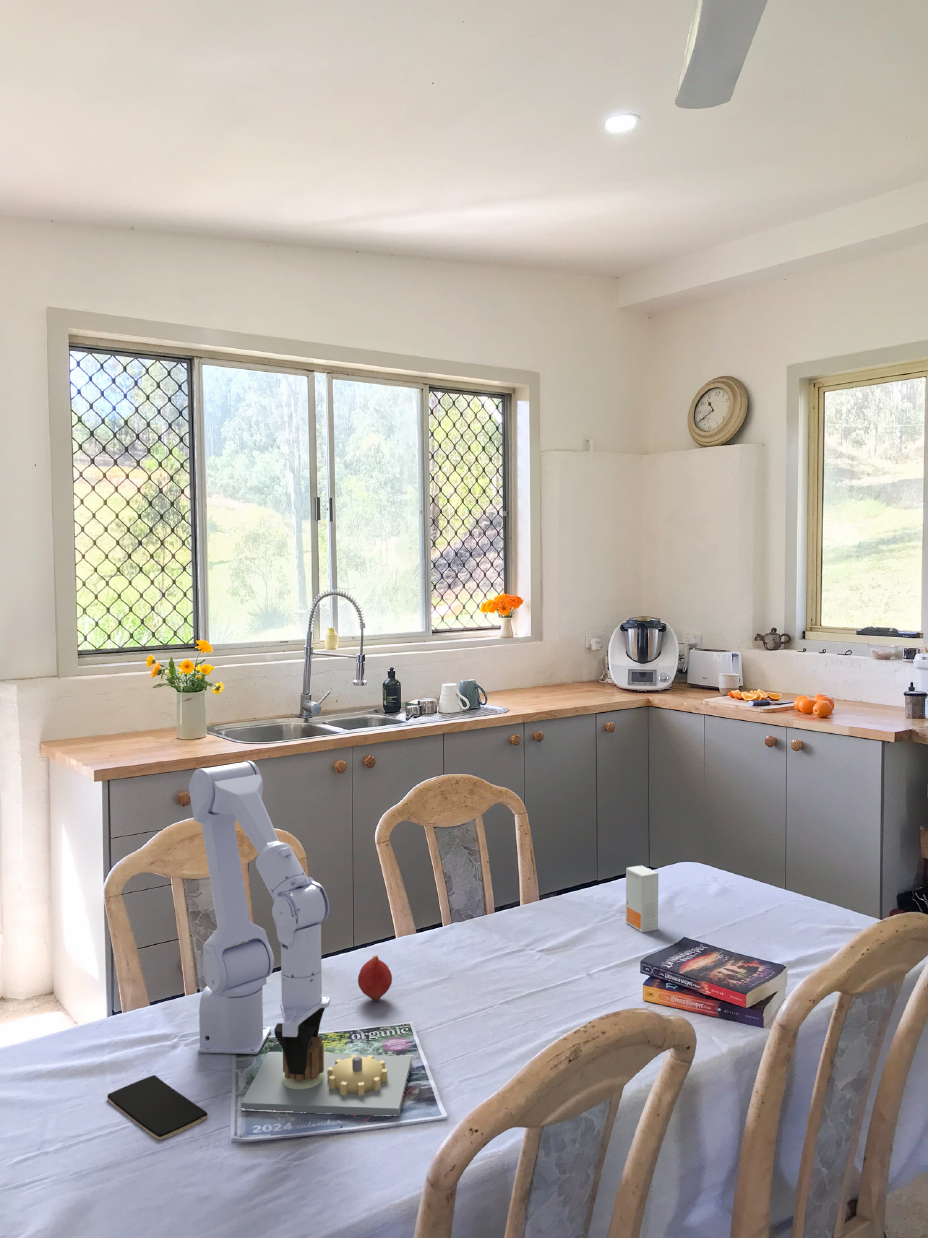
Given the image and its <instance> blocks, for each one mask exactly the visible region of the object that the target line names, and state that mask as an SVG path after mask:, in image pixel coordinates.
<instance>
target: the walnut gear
mask: <svg viewBox="0 0 928 1238" xmlns="http://www.w3.org/2000/svg"><path fill="white" fill-rule="evenodd" d="M322 1039H323V1038H321V1037H320V1036H318V1037H313V1036H312V1038H311V1041H310V1045H309V1051H308V1059H307V1066H306V1070H305V1073H304V1074H303V1075H299V1074H290V1073H289V1070H288V1066H287V1062H286V1058H285V1054H284V1051H283V1050H282V1052H283V1072H285V1078H287V1079H290V1078H291V1079H293V1080H295V1079H296V1082H302V1080H304V1079H305V1080H308V1079H311V1080H313V1079H316V1078H317V1075H319V1073H323V1071H324V1054H325V1052H324V1043H323V1041H322Z"/></svg>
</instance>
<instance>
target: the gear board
mask: <svg viewBox="0 0 928 1238" xmlns="http://www.w3.org/2000/svg"><path fill="white" fill-rule="evenodd" d="M412 1063H413V1058H412V1056H408V1055H407V1056H406V1055H381V1054H379V1055H378V1054H377V1055H376V1054H349V1053H348V1054H347V1053H346V1054H345V1053H324V1071H323V1073H319V1075H317V1078H316V1079H313V1080H311V1079H308V1080H305V1079H304V1080H302V1082H296V1079H295V1080H293V1079H291V1078H290V1079H287V1078H285V1072H283V1051H282V1052H281V1051H268V1052H267V1054H266V1056H265V1058H264V1060H263V1061H262V1064H261V1065H260V1067H259V1069H258V1070H257V1073H256V1074H255V1075H254V1076H255V1077H254V1078H253V1080H252V1082H251V1084H250V1086H249V1088H248V1090H247V1092H246V1093H245V1095H244V1096H243V1099H242V1100H241V1102H240V1109H241V1108H244V1109H254V1110H272V1111H273V1110H275V1111H293V1112H303V1113H304V1112H306V1113H332V1114H345V1115H344V1116H349V1115H348V1114H353V1115H352V1116H357V1115H391V1116H394V1115H396V1116H399V1117H400V1115H399V1113H400V1114H401V1111H400V1109H401V1110H402V1106H401V1104H402V1105H403V1102H402V1100H403V1101H404V1098H403V1096H404V1097H405V1094H404V1092H405V1093H406V1090H405V1087H406V1088H407V1086H406V1084H407V1085H408V1081H407V1079H408V1080H409V1077H410V1073H409V1071H410V1072H411V1069H410V1068H412V1065H411V1064H412ZM408 1076H409V1077H408ZM303 1113H302V1114H303ZM355 1114H357V1115H355Z"/></svg>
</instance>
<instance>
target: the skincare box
mask: <svg viewBox="0 0 928 1238" xmlns="http://www.w3.org/2000/svg"><path fill="white" fill-rule="evenodd" d="M625 870H626V871H625V924H627V925H629V926H631V927H632V928H635V929H636V930H637V931H639V932H641V933H646V932H652V931H653V932H654V931H657V930H659V873H658V872H656V871H654V870H652V869H651V868H649V867H646V866H644V865H642V864H641V865H635V866H628V867H626V869H625Z"/></svg>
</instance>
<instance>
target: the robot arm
mask: <svg viewBox="0 0 928 1238" xmlns="http://www.w3.org/2000/svg"><path fill="white" fill-rule="evenodd" d="M190 779H191V780H190V781H189V784H188V791H189V798H190V804H191V805H190V806H191V811H192V815H193V820H194V821H195V822H197V823H200V824H201V830H202V837H203V842H204V849H205V850H204V851H205V856H206V857H205V858H206V862H207V869H208V875H209V882H210V888H211V894H212V901H213V907H214V912H215V913H214V915H215V918H216V919H215V920H216V926H217V927H216V929H215V930H214V932H212V934H211V935H210V936H209V938H207V940H206V941H205V942H204V943H203V945H202V946H203V947H202V948H203V951H202V952H203V963H202V975H203V980H204V982H205V984H206V986H205V987H204V988H203V991H202V993H201V996H200V1002H199V1007H198V1008H199V1009H198V1010H199V1011H198V1015H199V1016H198V1019H199V1020H198V1022H199V1023H198V1024H199V1026H198V1027H199V1047H198V1049H197V1050H198V1053H206V1054H208V1053H212V1054H235V1055H237V1054H241V1055H257V1054H259V1052H260V1051H261V1049H262V1047H263V1045H264V1044H265V1042H266V1040H267V1038H268V1036H269V1035H270V1033H271V1031H272V1029H271V1027H270V1026H264V1015H263V1014H264V1012H263V1011H264V1010H263V1009H264V1008H263V1007H264V1005H263V986H265V985H267V978H269V977H270V976H271V975H272V973H273V969H274V967H275V966H274V965H275V956H274V952H273V949H272V947H271V945H270V943H269V939H268V937H267V932H266V930H265V929H264V928H263V927H261V926H259V925H257V924H255V923H253V922H252V921H251V920H250V919H251V918H250V912H249V905H248V900H247V893H246V888H245V881H244V875H243V869H242V862H241V857H240V851H239V844H238V838H237V833H236V826H235V825H236V821H237V823H238V824H239V826H240V827H241V829H242V831H243V832H244V833H245V835H246V836H247V838H248V840H249V841H250V843H251V845H252V847H254V849H255V851H256V852H257V857H256V859H255V867H256V869H257V871H258V873H259V875H260V876H261V879H262V881H263V883H264V884H265V886H266V889H267V891H268V893H269V894H270V896H271V899H272V900H273V906H272V907H271V913H272V918H273V923H274V925H275V927H276V937H277V940H278V942H279V943H280V968H281V969H280V970H281V971H280V976H281V977H280V978H281V980H280V981H281V982H280V983H281V984H280V985H281V999H280V1005H279V1006H280V1010H281V1011H280V1012H281V1016H282V1019H283V1020H282V1022H281V1023H279V1022H278V1023H277V1024H276V1025H275V1027H274V1030H273V1031H274V1037H275V1039H277V1041H278V1043H279V1044H280V1046H281V1048H282V1052H283V1051H284V1054H285V1058H286V1062H287V1066H288V1070H289V1073H290V1074H299V1075H303V1074H304V1073H305V1070H306V1066H307V1059H308V1051H309V1045H310V1041H311V1038H312V1036H313V1037H319V1031H320V1028H321V1027H320V1025H321V1021H322V1017H323V1015H324V1011H325V1010H326V1008H329V1006H330V1004H331V997H329V996H323V994H322V993H323V991H322V987H323V986H322V983H323V982H322V924H321V923H324V922H325V921H326V920H327V919H328V917H329V913H330V902H329V897H328V895H327V893H326V890H325V888H324V886H322V885H321V884H320V883H319V882H317V881H315V879H314V878H313V877H311V876H307V873H306V872H305V869H303V867H302V864H301V863H300V861H299V859H298V858H297V856H296V854H295V852H294V850H293V848H292V846H291V845H290V844H288V843H287V842H282V841H280V840H279V837H278V835H277V832H276V830H275V828H274V825H273V823H272V821H271V817H270V816H269V814H268V810H267V808H266V806H265V804H264V801H263V799H262V797H263V791H264V783H263V778H262V774H261V772H260V770H259V767H258V766H257V765H256V763H255V762H253V761H251V760H244V761H242V762H237V763H231V764H225V765H219V766H213V767H206V768H204V767H203V768H201V767H200V768H197V769H196V770H194V772H193V774H192V776H191V778H190ZM242 942H243V943H242Z"/></svg>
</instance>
